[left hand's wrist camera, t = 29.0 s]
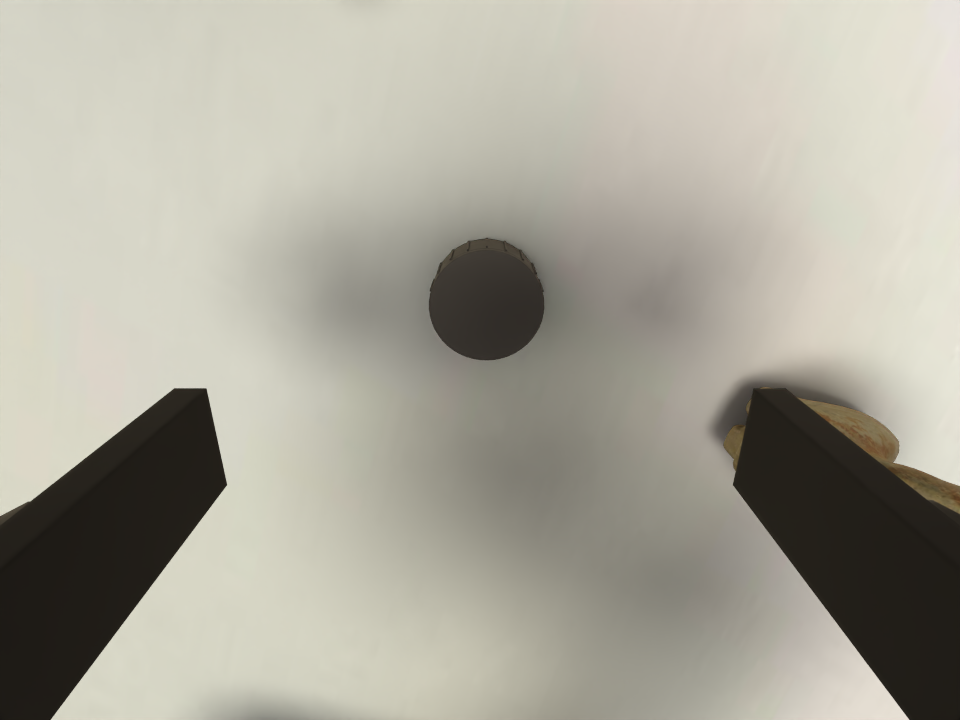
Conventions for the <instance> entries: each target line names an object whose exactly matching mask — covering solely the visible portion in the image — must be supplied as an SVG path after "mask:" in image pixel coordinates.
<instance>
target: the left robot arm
mask: <svg viewBox="0 0 960 720" xmlns="http://www.w3.org/2000/svg"><path fill="white" fill-rule="evenodd" d="M226 486H227V482H226V478H225V473H224V468H223V464H222V459H221V454H220V450H219V445H218V440H217V436H216V431H215V426H214V422H213V417H212V412H211V408H210V403H209V398H208V394H207V389H206V388H174V389H173V390H172V391H171V392H169V393H168V394H167V395H166V396H164V397H163V398H162V399H160V400H159V401H158V402H157V403H155V404H154V405H153V406H152V407H150V408H149V409H148V410H146V411H145V412H144V413H143V414H141V415H140V416H139V417H138V418H136V419H135V420H134V421H132V422H131V423H130V424H129V425H127V426H126V427H125V428H124V429H122V430H121V431H120V432H118V433H117V434H116V435H115V436H113V437H112V438H111V439H110V440H108V441H107V442H106V443H104V444H103V445H102V446H101V447H99V448H98V449H97V450H96V451H94V452H93V453H92V454H90V455H89V456H88V457H87V458H85V459H84V460H83V461H82V462H80V463H79V464H78V465H76V466H75V467H74V468H73V469H71V470H70V471H69V472H68V473H66V474H65V475H64V476H62V477H61V478H60V479H59V480H57V481H56V482H55V483H54V484H52V485H51V486H50V487H48V488H47V489H46V490H45V491H43V492H42V493H41V494H40V495H38V496H37V497H36V498H34V499H33V500H32V501H31V502H27V503H25V504H23V505H21V506H19V507H17V508H15V509H13V510H11V511H9V512H7V513H6V514H4V515H2V516H0V720H51V718H52V717H53V716H54V714H55V713H56V712H57V710H58V709H59V708H60V706H61V705H62V704H63V702H64V701H65V700H66V698H67V697H68V696H69V694H70V693H71V692H72V691H73V689H74V688H75V687H76V685H77V684H78V683H79V681H80V680H81V679H82V677H83V676H84V675H85V673H86V672H87V671H88V669H89V668H90V667H91V665H92V664H93V663H94V661H95V660H96V659H97V657H98V656H99V655H100V653H101V652H102V651H103V649H104V648H105V647H106V645H107V644H108V643H109V641H110V640H111V639H112V637H113V636H114V635H115V633H116V632H117V631H118V629H119V628H120V627H121V625H122V624H123V623H124V621H125V620H126V619H127V617H128V616H129V615H130V613H131V612H132V611H133V609H134V608H135V607H136V605H137V604H138V603H139V601H140V600H141V599H142V597H143V596H144V595H145V593H146V592H147V591H148V589H149V588H150V587H151V585H152V584H153V583H154V581H155V580H156V579H157V577H158V576H159V575H160V573H161V572H162V571H163V569H164V568H165V567H166V565H167V564H168V563H169V561H170V560H171V559H172V557H173V556H174V555H175V553H176V552H177V551H178V550H179V548H180V547H181V546H182V544H183V543H184V542H185V540H186V539H187V538H188V536H189V535H190V534H191V532H192V531H193V530H194V528H195V527H196V526H197V524H198V523H199V522H200V520H201V519H202V518H203V516H204V515H205V514H206V512H207V511H208V510H209V508H210V507H211V506H212V504H213V503H214V502H215V500H216V499H217V498H218V496H219V495H220V494H221V492H222V491H223V490H224V488H225V487H226ZM733 486H734V487H735V488H736V490H737V491H738V492H739V494H740V495H741V496H742V498H743V499H744V500H745V502H746V503H747V504H748V506H749V507H750V508H751V510H752V511H753V512H754V514H755V515H756V516H757V518H758V519H759V520H760V522H761V523H762V524H763V526H764V527H765V528H766V530H767V531H768V532H769V534H770V535H771V536H772V538H773V539H774V540H775V542H776V543H777V544H778V546H779V547H780V548H781V550H782V551H783V552H784V553H785V555H786V556H787V557H788V559H789V560H790V561H791V563H792V564H793V565H794V567H795V568H796V569H797V571H798V572H799V573H800V575H801V576H802V577H803V579H804V580H805V581H806V583H807V584H808V585H809V587H810V588H811V589H812V591H813V592H814V593H815V595H816V596H817V597H818V599H819V600H820V601H821V603H822V604H823V605H824V607H825V608H826V609H827V611H828V612H829V613H830V615H831V616H832V617H833V619H834V620H835V621H836V623H837V624H838V625H839V627H840V628H841V629H842V631H843V632H844V633H845V635H846V636H847V637H848V639H849V640H850V641H851V643H852V644H853V645H854V647H855V648H856V649H857V651H858V652H859V653H860V655H861V656H862V657H863V659H864V660H865V661H866V663H867V664H868V665H869V667H870V668H871V669H872V671H873V672H874V673H875V675H876V676H877V677H878V679H879V680H880V681H881V683H882V684H883V685H884V687H885V688H886V689H887V691H888V692H889V693H890V694H891V696H892V697H893V698H894V700H895V701H896V702H897V704H898V705H899V706H900V708H901V709H902V710H903V712H904V713H905V714H906V716H907V717H908V718H909V720H960V514H959V513H957V512H955V511H953V510H951V509H949V508H947V507H945V506H943V505H941V504H940V503H938V502H936V501H934V500H927V499H926V498H924V497H923V496H922V495H920V494H919V493H918V492H917V491H915V490H914V489H913V488H912V487H910V486H909V485H908V484H906V483H905V482H904V481H903V480H901V479H900V478H899V477H898V476H896V475H895V474H894V473H892V472H891V471H890V470H889V469H887V468H886V467H885V466H884V465H882V464H881V463H880V462H878V461H877V460H876V459H875V458H873V457H872V456H871V455H870V454H868V453H867V452H866V451H864V450H863V449H862V448H861V447H859V446H858V445H857V444H856V443H854V442H853V441H852V440H850V439H849V438H848V437H847V436H845V435H844V434H843V433H842V432H840V431H839V430H838V429H836V428H835V427H834V426H833V425H831V424H830V423H829V422H828V421H826V420H825V419H824V418H822V417H821V416H820V415H819V414H817V413H816V412H815V411H814V410H812V409H811V408H810V407H808V406H807V405H806V404H805V403H803V402H802V401H801V400H800V399H798V398H797V397H796V396H794V395H793V394H792V393H791V392H789V391H788V390H787V389H786V388H754V389H753V394H752V398H751V403H750V408H749V412H748V417H747V422H746V426H745V431H744V436H743V440H742V445H741V450H740V454H739V459H738V464H737V468H736V473H735V478H734V482H733Z"/></svg>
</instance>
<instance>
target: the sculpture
mask: <svg viewBox="0 0 960 720" xmlns="http://www.w3.org/2000/svg"><path fill="white" fill-rule="evenodd" d="M761 388H768V387H761ZM797 398H798V397H797ZM798 399H800V400H801V401H802V402H803V403H805V404H806V405H807V406H808V407H810V408H811V409H812V410H814V411H815V412H816V413H817V414H819V415H820V416H821V417H822V418H824V419H825V420H826V421H828V422H829V423H830V424H831V425H833V426H834V427H835V428H836V429H838V430H839V431H840V432H842V433H843V434H844V435H845V436H847V437H848V438H849V439H850V440H852V441H853V442H854V443H856V444H857V445H858V446H859V447H861V448H862V449H863V450H864V451H866V452H867V453H868V454H870V455H871V456H872V457H873V458H875V459H876V460H877V461H878V462H880V463H881V464H882V465H884V466H885V467H886V468H887V469H889V470H890V471H891V472H892V473H894V474H895V475H896V476H898V477H899V478H900V479H901V480H903V481H904V482H905V483H906V484H908V485H909V486H910V487H912V488H913V489H914V490H915V491H917V492H918V493H919V494H920V495H922V496H923V497H924V498H926V499H927V500H934V501H936V502H938V503H940V504H941V505H943V506H945V507H947V508H949V509H951V510H953V511H955V512H957V513H959V514H960V486H957V485H955V484H952V483H949V482H946V481H943V480H941V479H938V478H936V477H934V476H932V475H929V474H927V473H924V472H922V471H919V470H917V469H914V468H911V467H907V466H904V465H900V464H896V463H893V462H894V461H895V459H896V457H897V455H898V453H899V441H898V440H897V438H896V437H895V436H894V435H893V434H892V433H891V431H890V430H889V429H887V428H886V427H885V426H884V425H883V424H881V423H880V422H878V421H877V420H875V419H874V418H872V417H870V416H868V415H866V414H864V413H862V412H859V411H856V410H853V409H850V408H846V407H842V406H838V405H833V404H829V403H824V402H818V401H811V400H806V399H801V398H798ZM750 403H751V399H750V401H749V402H748V404H747V406H746V411H747V414H748V412H749V408H750ZM744 431H745V425H735V426H733V427H732V429H731V430H730V431H729V433H728V435H727V437H726V439H725V441H724V445H723V446H724V448H725V450H726V451H727V452H728V453H729V454H730V455H731V456H732V458H733V459H734V461H733V467H734V469H735V471H736V468H737V464H738V459H739V454H740V450H741V445H742V440H743V436H744Z"/></svg>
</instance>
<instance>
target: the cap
mask: <svg viewBox="0 0 960 720" xmlns="http://www.w3.org/2000/svg"><path fill="white" fill-rule="evenodd" d="M536 274H537V273H536V270H535V268H534V265H533V263H530V261H529V260H528V258H527V257H526V256H525V255H524V254H523V253H522V251H521V250H518V249H517V248H515V247H514V246H512V245H510V244H508V243H506V241H504V242H502V241H498V240H492V239H488V238H486V239H482V240H475V241H471V242H470V241H468V242H467V243H466V244H463V245H461V246H460V247H458V248H456V249H455V250H454V249H453V250H452V251H451V253H450V254H449V255H448V256H447V257H446V259H445V260H444V261H443V263H440V265H439V268H438V271H437V275H436V278H435V279H434V280H433V283H432V285H431V288H430V291H431V293H430V299H429V311H430V317H431V321H432V324H433V326H434V328H435V330H436V332H437V334H438V335H439V337H440V338H441V339H442V341H443V342H444V343H445V344H446V345H447V346H449V347H450V348H451V349H453V350H454V351H456V352H457V353H459V354H461V355H463V356H466V357H469V358H472V359H478V360H496V359H500V358H504V357H507V356H510V355H512V354H514V353H516V352H517V351H519V350H520V349H522V348H523V347H524V346H526V345H527V344H528V343H529V342H530V340H531V339H532V338H533V337H534V335H535V334H536V332H537V330H538V329H539V327H540V324H541V321H542V318H543V313H544V297H543V292H544V291H543V288H542V285H541V283H540V280H539V279H538V278H537V275H536Z"/></svg>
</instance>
